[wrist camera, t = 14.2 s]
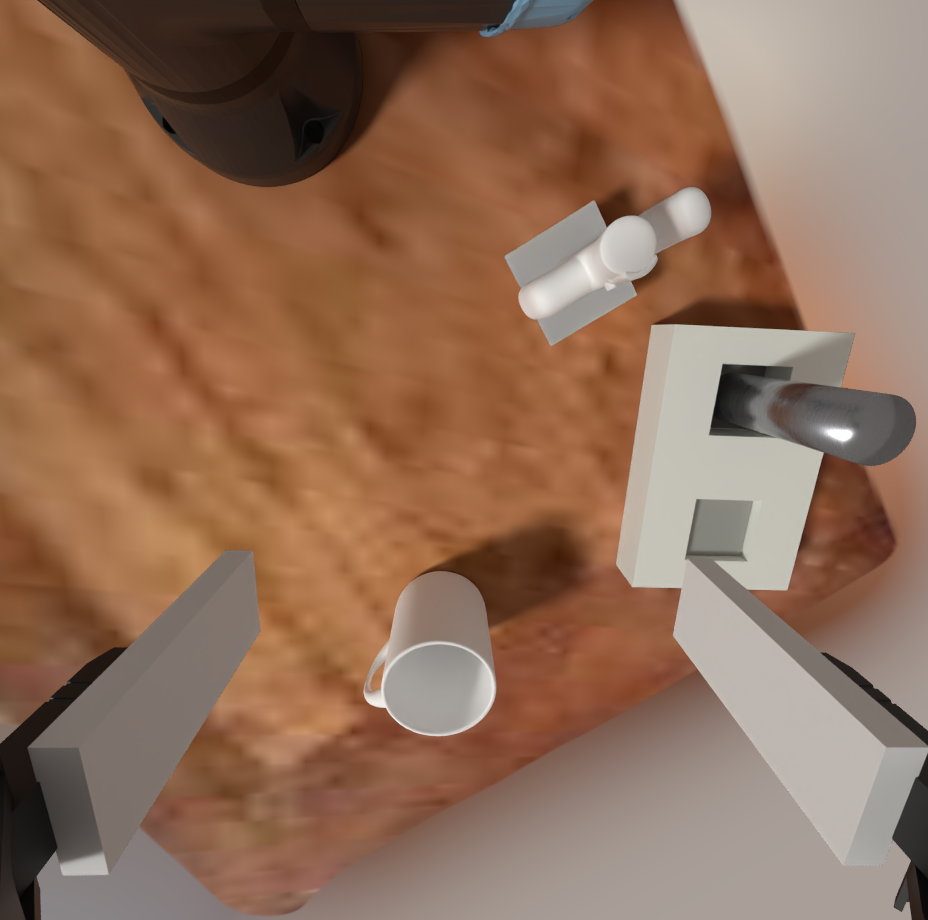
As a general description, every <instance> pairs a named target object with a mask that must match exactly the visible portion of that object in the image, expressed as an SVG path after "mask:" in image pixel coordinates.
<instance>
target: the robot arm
mask: <svg viewBox="0 0 928 920" xmlns="http://www.w3.org/2000/svg"><path fill="white" fill-rule="evenodd" d="M38 1H39V2H40V3H42V4H43V5H44V6H45V7H47V8H48V9H49V10H50V11H52V12H53V13H54V14H55V15H57V16H58V17H59V18H61V19H62V20H63V21H64V22H66V23H67V24H68V25H69V26H71V27H72V28H73V29H75V30H76V31H77V32H78V33H80V34H81V35H82V36H83V37H85V38H86V39H87V40H88V41H90V42H91V43H92V44H94V45H95V46H96V47H97V48H99V49H100V50H101V51H102V52H104V53H105V54H106V55H108V56H109V57H110V58H111V59H113V60H114V61H115V62H116V63H118V64H119V65H120V66H121V67H123V68H124V70H125V72H126V73H127V75H128V77H129V78H130V80H131V82H132V84H133V85H134V87H135V89H136V90H137V92H138V94H139V96H140V97H141V99H142V101H143V103H144V104H145V106H146V107H147V109H148V110H149V112H150V114H151V115H152V116H153V118H154V119H155V121H156V122H157V123H158V125H159V126H160V127H161V128H162V129H163V130H164V132H165V133H166V134H167V135H168V136H169V137H170V138H171V139H172V140H173V141H174V142H175V143H176V144H177V145H178V146H179V147H180V148H181V149H183V150H184V151H185V152H186V153H188V154H189V155H190V156H192V157H193V158H195V159H196V160H197V161H199V162H200V163H202V164H203V165H205V166H206V167H208V168H209V169H211V170H212V171H214V172H216V173H218V174H219V175H221V176H223V177H226V178H228V179H230V180H233V181H236V182H239V183H243V184H246V185H252V186H260V187H275V186H283V185H288V184H292V183H295V182H298V181H301V180H303V179H305V178H307V177H309V176H311V175H313V174H314V173H316V172H317V171H319V170H320V169H321V168H323V167H324V166H325V165H326V164H327V163H328V162H330V161H331V160H332V158H333V157H334V156H335V155H336V154H337V153H338V151H339V150H340V149H341V147H342V146H343V144H344V143H345V141H346V140H347V138H348V136H349V134H350V132H351V130H352V128H353V125H354V123H355V120H356V117H357V114H358V110H359V106H360V101H361V95H362V85H363V64H362V55H361V48H360V43H359V39H358V35H357V32H457V31H479V33H480V34H481V36H484V37H494V36H499V35H500V34H502V33H504V32H505V31H507V30H512V29H526V28H541V27H553V26H559V25H561V24H564V23H567V22H569V21H571V20H573V19H574V18H575V17H576V16H577V15H579V14H580V13H581V12H582V11H583V10H584V9H585V8H586V7H587V5H588V4H590V3H592V2H593V1H594V0H38ZM259 633H260V621H259V611H258V600H257V590H256V579H255V568H254V558H253V551H249V550H226V551H225V552H224V553H223V554H222V555H221V556H220V557H219V558H218V559H217V560H216V561H215V562H214V563H213V564H212V565H211V566H210V567H209V568H208V569H207V570H206V571H205V572H204V573H203V574H202V575H201V576H200V577H199V578H198V579H197V580H196V581H195V582H194V583H193V584H192V585H191V586H190V587H189V588H188V589H187V590H186V591H185V592H184V593H183V594H182V595H181V596H180V597H179V598H178V599H177V600H176V601H175V602H174V603H173V604H172V605H171V606H169V607H168V608H167V609H166V610H165V611H164V612H163V613H162V614H161V615H160V616H159V617H158V618H157V619H156V620H155V621H154V622H153V623H152V624H151V625H150V626H149V627H148V628H147V629H146V630H145V631H144V632H143V633H142V634H141V635H140V636H139V637H138V638H137V639H136V640H135V641H134V642H133V643H132V644H131V645H130V646H129V647H128V648H116V647H114V648H112V649H111V650H109V651H107V652H105V653H104V654H102V655H100V656H99V657H97V658H95V659H94V660H92V661H90V662H89V663H87V664H86V665H85V666H84V667H83V668H82V669H81V670H80V671H78V672H77V673H76V674H75V675H74V676H73V677H72V678H71V679H70V680H69V681H68V682H67V685H66V686H62V687H61V688H60V689H59V690H58V691H57V692H56V693H55V694H54V695H53V696H51V697H50V700H49V702H45V703H44V704H43V705H42V706H41V707H40V708H38V709H37V710H36V711H35V712H34V713H33V714H32V715H31V716H30V717H29V718H28V719H27V720H25V721H24V722H23V723H22V724H21V725H20V726H19V727H18V728H17V729H16V730H15V731H14V732H13V733H11V734H10V735H9V736H8V737H7V738H6V739H5V740H4V741H3V742H2V743H1V744H0V920H41V908H40V887H39V884H38V881H37V877H36V876H37V875H38V873H39V872H40V871H41V869H42V868H43V867H44V865H45V864H46V863H47V861H48V860H49V859H50V857H51V856H52V855H53V853H54V852H55V851H56V853H57V856H58V860H59V864H60V867H61V871H62V875H109V874H110V872H111V871H112V869H113V867H114V866H115V864H116V863H117V861H118V859H119V858H120V856H121V854H122V853H123V851H124V850H125V848H126V846H127V845H128V843H129V842H130V840H131V838H132V837H133V835H134V834H135V832H136V830H137V829H138V827H139V826H140V824H141V822H142V821H143V819H144V818H145V816H146V814H147V813H148V811H149V810H150V808H151V806H152V805H153V803H154V801H155V800H156V798H157V797H158V795H159V793H160V792H161V790H162V789H163V787H164V785H165V784H166V782H167V781H168V779H169V777H170V776H171V774H172V773H173V771H174V769H175V768H176V766H177V764H178V763H179V761H180V760H181V758H182V756H183V755H184V753H185V752H186V750H187V748H188V747H189V745H190V744H191V742H192V740H193V739H194V737H195V736H196V734H197V732H198V731H199V729H200V727H201V726H202V724H203V723H204V721H205V719H206V718H207V716H208V715H209V713H210V711H211V710H212V708H213V707H214V705H215V703H216V702H217V700H218V698H219V697H220V695H221V694H222V692H223V690H224V689H225V687H226V686H227V684H228V682H229V681H230V679H231V678H232V676H233V674H234V673H235V671H236V670H237V668H238V666H239V665H240V663H241V661H242V660H243V658H244V657H245V655H246V653H247V652H248V650H249V649H250V647H251V645H252V644H253V642H254V641H255V639H256V637H257V636H258V634H259ZM673 636H674V638H675V639H676V640H677V642H678V643H679V644H680V646H681V647H682V648H683V650H684V651H685V653H686V654H687V655H688V657H689V658H690V659H691V661H692V662H693V663H694V665H695V666H696V667H697V669H698V670H699V671H700V673H701V674H702V675H703V677H704V678H705V680H706V681H707V682H708V683H709V685H710V686H711V688H712V689H713V690H714V692H715V693H716V694H717V696H718V697H719V698H720V700H721V701H722V702H723V704H724V705H725V707H726V708H727V709H728V710H729V712H730V713H731V715H732V716H733V717H734V719H735V720H736V721H737V723H738V724H739V725H740V727H741V728H742V729H743V731H744V732H745V733H746V735H747V736H748V738H749V739H750V740H751V742H752V743H753V744H754V745H755V747H756V748H757V750H758V751H759V752H760V754H761V755H762V756H763V758H764V759H765V761H766V762H767V763H768V765H769V766H770V767H771V769H772V770H773V771H774V773H775V774H776V775H777V777H778V778H779V779H780V781H781V782H782V783H783V784H784V786H785V787H786V789H787V790H788V791H789V793H790V794H791V796H792V797H793V798H794V800H795V801H796V802H797V804H798V805H799V806H800V808H801V809H802V810H803V812H804V813H805V815H806V816H807V817H808V819H809V820H810V821H811V823H812V824H813V825H814V827H815V828H816V829H817V831H818V832H819V833H820V835H821V836H822V837H823V839H824V840H825V842H826V843H827V844H828V846H829V847H830V848H831V850H832V851H833V852H834V854H835V855H836V856H837V858H838V859H839V860H840V862H841V863H842V864H843V866H867V865H869V866H871V865H883V864H884V862H885V860H886V857H887V855H888V852H889V849H890V847H891V844H892V842H893V840H894V841H895V842H896V844H897V845H898V846H899V847H900V848H901V849H902V850H903V852H905V854H906V855H907V856H908V857H909V858H910V860H911V862H910V865H909V867H908V869H907V872H906V874H905V876H904V879H903V881H902V884H901V886H900V888H899V891H898V893H897V896H896V899H895V904H894V908H896V909H898V910H899V911H901V912H902V911H903V908H904V906H905V904H906V902H910V909H911V917H912V920H928V731H927V730H926V729H925V728H923V726H921V725H920V724H919V723H918V722H917V721H915V720H914V719H913V718H912V717H911V716H909V715H908V714H907V713H906V712H905V711H903V710H902V709H901V708H900V707H899V706H897V705H896V704H892V703H891V700H890V699H889V698H888V697H886V696H885V695H884V694H883V693H882V692H880V691H879V690H878V689H874V688H873V685H872V684H871V683H870V682H868V681H867V680H866V679H865V678H864V677H863V676H861V675H860V674H859V673H858V672H856V671H855V670H854V669H853V668H851V667H850V666H848V665H846V664H845V663H843V662H841V661H839V660H838V659H836V658H834V657H832V656H831V655H829V654H827V653H820V652H819V651H818V650H816V649H815V648H814V647H813V646H811V644H809V643H808V642H807V641H806V640H805V639H804V638H803V637H801V636H800V635H799V634H798V633H797V632H795V631H794V630H793V629H792V628H791V627H790V626H789V625H787V624H786V623H785V622H784V621H783V620H782V619H780V618H779V617H778V616H777V615H776V614H775V613H774V612H772V611H771V610H770V609H769V608H768V607H767V606H765V605H764V604H763V603H762V602H761V601H760V600H758V599H757V598H756V597H755V596H754V595H753V594H752V593H750V592H749V591H748V590H747V589H746V588H745V587H743V586H742V585H741V584H740V583H739V582H738V581H736V580H735V579H734V578H733V577H732V576H731V575H730V574H728V573H727V572H726V571H725V570H724V569H723V568H721V567H720V566H719V565H718V564H717V563H716V562H714V561H713V560H712V559H687V564H686V569H685V575H684V580H683V585H682V591H681V596H680V601H679V606H678V612H677V617H676V622H675V628H674V633H673Z"/></svg>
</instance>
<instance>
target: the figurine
mask: <svg viewBox="0 0 928 920" xmlns="http://www.w3.org/2000/svg"><path fill="white" fill-rule="evenodd" d="M710 219H711V207H710V203H709V200H708V198H707V196H706V195H705V194H704V192H703V191H701V190H700V189H698V188H696V187H688V188H685V189H682V190H680V191H679V192H677V193H675V194H674V195H672V196H670V197H668V198H667V199H665V200H663V201H661V202H659V203H658V204H656V205H654V206H652V207H651V208H649V209H648V210H646V211H645V212H643V213H642V214H640V215H639V216H632V215H631V216H624V217H621V218H619V219H617V220H615V221H614V222H612V223H611V224H610V225H609V226H608V227H606V225H605V222H604V220H603V218H602V216H601V213H600V211H599V209H598V207H597V205H596V202H595V200H594V201H592V202H591V203H589V204H587V205H586V206H584V207H583V208H581V209H579V210H578V211H576V212H575V213H573V214H571V215H570V216H568V217H567V218H565V219H563V220H562V221H560V222H559V223H557V224H555V225H554V226H552V227H551V228H549V229H547V230H546V231H544V232H543V233H541V234H539V235H538V236H536V237H535V238H533V239H531V240H530V241H528V242H527V243H525V244H523V245H522V246H520V247H519V248H517V249H515V250H514V251H512V252H511V253H509V254H507V255H506V256H504V257H505V259H506V261H507V263H508V265H509V267H510V269H511V271H512V273H513V275H514V277H515V278H516V280H517V282H518V284H519V286H520V288H521V290H520V292H519V303H520V306H521V308H522V310H523V311H524V313H525V314H526V315H527V316H528V317H530V318H532V319H537V321H538V323H539V325H540V327H541V329H542V331H543V332H544V334H545V336H546V338H547V340H548V342H549V344H550V346H552V345H554V344H555V343H557V342H559V341H561V340H562V339H564V338H566V337H567V336H569V335H571V334H572V333H574V332H576V331H577V330H579V329H581V328H582V327H584V326H586V325H588V324H589V323H591V322H593V321H594V320H596V319H598V318H599V317H601V316H603V315H604V314H606V313H608V312H609V311H611V310H613V309H614V308H616V307H618V306H620V305H621V304H623V303H625V302H626V301H628V300H630V299H631V298H633V297H635V296H636V295H637V293H636V291H635V289H634V287H633V284H632V282H631V281H632V280H635V279H638V278H641V277H643V276H645V275H646V274H648V273H649V272H650V271H651V270H652V269H653V267H654V266H655V264H656V263H657V261H658V258H657V255H656V253H658V252H660V251H662V250H664V249H666V248H669V247H671V246H672V245H675V244H677V243H679V242H681V241H683V240H685V239H687V238H690V237H692V236H695V235H697V234H699V233H701V232H702V231H703V230H705V228H706V227H707V226H708V224H709V222H710ZM654 254H655V255H654Z"/></svg>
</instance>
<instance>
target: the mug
mask: <svg viewBox="0 0 928 920" xmlns="http://www.w3.org/2000/svg"><path fill="white" fill-rule="evenodd" d="M385 661H386V663H385V668H384V673H383V679H382V684H381V688H379V689H377V690H371V688H370V682H371V679H372V676H373V674H374V673H375V671H376V670H377V669H378V668H379V667H380V666H381V665H382V664H383V663H384V662H385ZM495 695H496V678H495V671H494V663H493V656H492V649H491V642H490V635H489V627H488V620H487V613H486V608H485V603H484V600H483V597H482V595H481V593H480V592H479V590H478V589H477V587H476V586H475V585H474V584H473V583H472V582H471V581H469V580H468V579H467V578H465V577H463V576H461V575H459V574H456V573H452V572H447V571H435V572H430V573H426V574H423V575H421V576H419V577H417V578H416V579H414V580H413V581H411V582H410V583H409V584H408V585H407V586H406V587H405V589H404V590H403V591H402V593H401V595H400V597H399V599H398V602H397V605H396V609H395V614H394V620H393V625H392V630H391V636H390V640H389V641H388V642H387V643H386V644H385V645H384V647H383V648H382V649H381V650H380V652H379V653H378V655H377V656H376V658H375V660H374V662H373V664H372V666H371V668H370V670H369V673H368V676H367V678H366V682H365V686H364V696H365V699H366V700H367V702H368V703H370V704H371V705H373V706H376V707H382V708H387V710H388V712H389V713H390V715H391V716H392V717H393V718H394V719H395V720H396V721H397V722H398V723H399V724H401V725H402V726H404V727H405V728H407V729H409V730H411V731H414V732H416V733H419V734H424V735H430V736H446V735H452V734H456V733H459V732H462V731H465V730H467V729H469V728H471V727H472V726H474V725H475V724H477V723H478V722H479V721H480V720H481V719H483V718H484V717H485V715H486V714H487V713H488V711H489V710H490V708H491V706H492V704H493V702H494V699H495Z"/></svg>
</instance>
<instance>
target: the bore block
mask: <svg viewBox="0 0 928 920" xmlns="http://www.w3.org/2000/svg"><path fill="white" fill-rule="evenodd" d="M854 336H855V333H842V332H841V333H840V332H822V331H821V332H820V331H801V330H781V329H760V328H740V327H719V326H699V325H678V324H669V325H652V326H651V333H650V340H649V347H648V353H647V360H646V367H645V373H644V380H643V387H642V394H641V400H640V407H639V414H638V420H637V427H636V434H635V441H634V447H633V454H632V461H631V467H630V474H629V481H628V487H627V494H626V501H625V508H624V514H623V521H622V528H621V534H620V541H619V548H618V555H617V561H616V565H617V567H618V568H619V569H620V571H621V572H622V573H623V575H624V576H625V578H626V579H627V580H628V582H629V583H630V584H631V586H632V587H659V588H682V585H683V580H684V575H685V569H686V564H687V559H712V560H713V561H714V562H716V563H717V564H718V565H719V566H720V567H721V568H723V569H724V570H725V571H726V572H727V573H728V574H730V575H731V576H732V577H733V578H734V579H735V580H736V581H738V582H739V583H740V584H741V585H742V586H743V587H745V588H746V589H752V590H787V589H788V585H789V582H790V578H791V574H792V570H793V566H794V563H795V559H796V555H797V551H798V548H799V544H800V540H801V536H802V532H803V529H804V525H805V521H806V517H807V514H808V510H809V506H810V502H811V498H812V495H813V491H814V487H815V483H816V480H817V476H818V472H819V468H820V464H821V461H822V457H823V453H824V452H820V451H817V450H814V449H811V448H808V447H805V446H802V445H798V444H795V443H792V442H789V441H786V440H783V439H780V438H776V437H773V436H770V435H767V434H764V433H761V432H758V431H755V430H751V429H748V428H745V427H742V426H739V425H736V424H733V423H729V422H726V421H723V420H720V419H717V418H715V417H714V416H713V411H714V406H715V400H716V395H717V390H718V385H719V380H720V376H722V375H724V374H727V373H740V374H747V375H754V376H761V377H769V378H776V379H783V380H790V381H797V382H805V383H812V384H819V385H826V386H833V387H841V385H842V381H843V378H844V374H845V370H846V366H847V363H848V359H849V355H850V351H851V347H852V344H853V340H854Z"/></svg>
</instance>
